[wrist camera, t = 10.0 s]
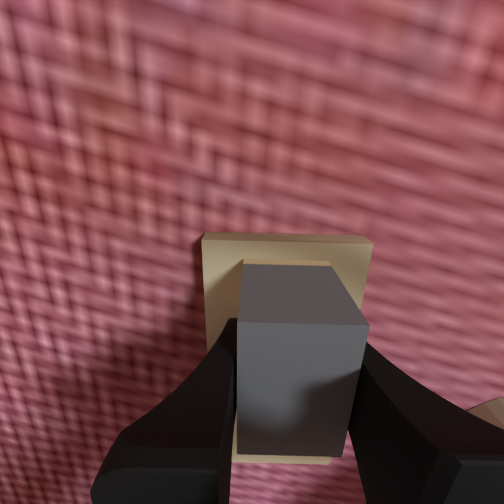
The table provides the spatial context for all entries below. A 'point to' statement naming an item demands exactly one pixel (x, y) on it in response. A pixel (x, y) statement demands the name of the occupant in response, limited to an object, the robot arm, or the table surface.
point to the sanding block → (296, 358)
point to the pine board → (279, 248)
